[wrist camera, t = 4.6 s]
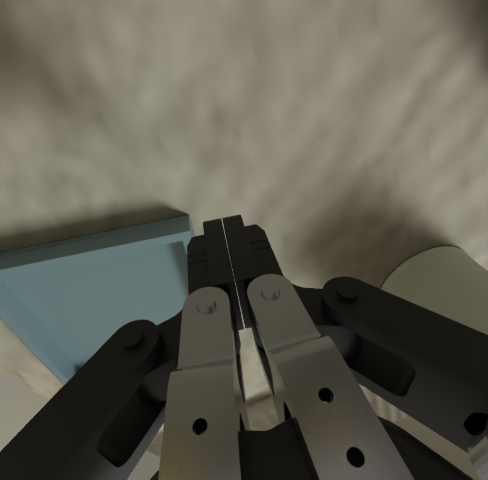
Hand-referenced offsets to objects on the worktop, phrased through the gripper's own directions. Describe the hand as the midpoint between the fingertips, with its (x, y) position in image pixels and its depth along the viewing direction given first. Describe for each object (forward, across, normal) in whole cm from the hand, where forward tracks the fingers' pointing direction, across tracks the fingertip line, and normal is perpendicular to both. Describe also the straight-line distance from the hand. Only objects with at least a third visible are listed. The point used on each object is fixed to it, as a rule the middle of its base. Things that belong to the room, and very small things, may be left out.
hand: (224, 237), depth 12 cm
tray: (+7, +8, +10) cm, 15 cm away
